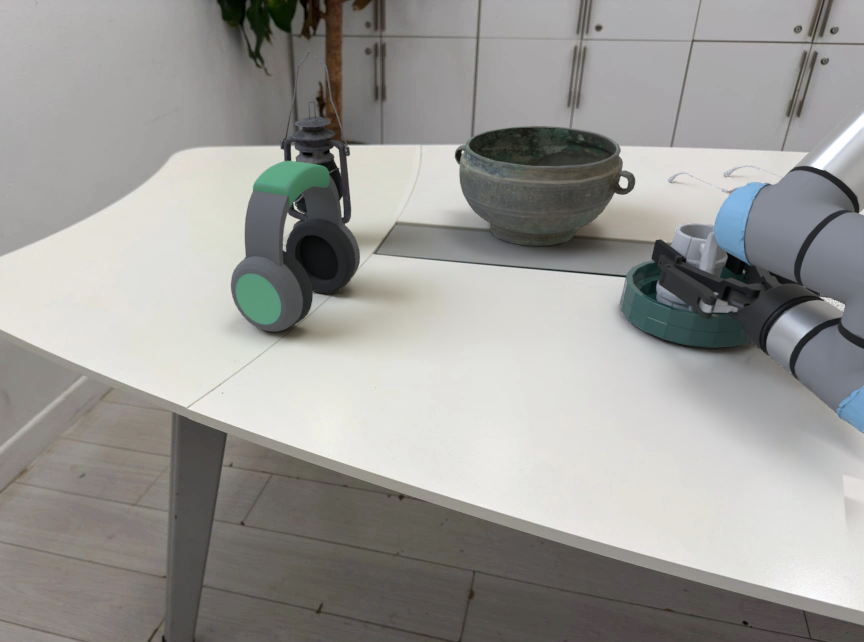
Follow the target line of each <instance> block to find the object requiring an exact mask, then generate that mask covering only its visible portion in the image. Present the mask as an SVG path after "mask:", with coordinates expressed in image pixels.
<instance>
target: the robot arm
mask: <svg viewBox="0 0 864 642" xmlns="http://www.w3.org/2000/svg"><path fill="white" fill-rule="evenodd" d="M782 177H783V178H781V179H780V180H779V181H777V182H776V183H777V184H776V185H772V184H773V183H768V182H758V181H753V182H748V183H746V184H745V185H743V187H742V186H738V187H739V188H737V189H736V190H735V191H734V192H733V193H731V194H730V195H729V194H728V196H727V198H725V200H724V201H723V202H722V205H721V206H720V207H719V210H718V212H717V214H716V217H715V221H714V224H713V225H714V236H715V239H716V242H717V244H718V245H719V246H720V248H721V249H723V250H724V251H726V252H727V253H726V254H727V256H728V258H727V261H726V264H725V266H724V267H726V268H727V269H729V270H730V271H731V272H733V273H734V274H736V275H742V273H743V270H744V271H745V274H744V277H743V280H744V279H745V281H748V283H749V285H748V284H745V283H743V282H741V281H738V280H736V279H733V278H728V279H723V278H720V277H718V276H715V275H713V274H711V273H708V272H706V271H703V270H701V269H699V268H696V267H694V266H691V265H689V264H687V263H686V260H687V259H686V258H685V257H684V256H683V255H681V254H680V253H679V252H677V251H676V250H675V249H673V248H672V247H671V245H669V244H668V243H666V241H664V240H663V239H655V241H654V245H653V250H652V254H651V259H650V260H653V261H654V262H656V263H657V264H658V267H659V268H660V269H661V274H660V278H659V282H658V284H659V285H660V286H662V287H663V288H665V289H666V290H668V291H669V292H671V293H672V294H673V295H675V296H676V297H678V298H679V299H681V300H682V301H684V302H685V303H687V304H688V305H690V306H691V307H693V308H694V309H695V310H696V311H697V312H698V314H699V315H700V317H702V318H705V319H710V318H711V317H712V314H713V312H718V313H726V314H727V315H728V316H729V317H731V318H734V319H736V320H738V321H740V323H741V325H742V328H743V331H744V333H745V335H746V337H747V338H748V340H750V341H751V343H752V344H753V345H754V346H755V347H757V349H759V350H760V351H762V352H763V353H764V354H765V355H766V356H768V357H770V359H772V360H773V361H774V362H775V363H777V365H779V366H780V367H782V368H783V369H784V370H786V372H788V373H789V374H791V375H792V376H793V377H794V379H796V380H797V381H798V382H800V383H801V385H802V386H804V387H805V388H807V389H808V390H809V391H810V392H811V393H812V394H813V395H814V396H816V398H817V399H819V400H820V401H821V402H822V403H823V404H824V405H826V406H827V407H828V408H829V409H831V411H833V412H834V413H835V414H836V415H837V416H838V418H840V420H842V421H845V422H847V423H848V424H849V425H850V426H852V427H853V428H854V429H856V430H857V431H859V432H860V433H862V434H864V214H861V212H862V211H864V98H863V99H861V101H860V102H859V103H857V105H856V106H855V107H853V109H852V110H850V111H849V112H848V114H846V115H845V116H844V117H843V118H842V119H841V120H840V121H839V122H838V123H837V124H836V125H835V126H834V127H833V128H832V129H831V130H830V131H829V132H828V133H827V134H826V135H825V136H824V137H823V138H822V139H821V140H820V141H819V142H818V143H816V145H815V146H814V147H813V148H812V149H811V150H810V151H808V153H807V154H806V155H805V156H804V157H803V158H802V159H801V160H800V161H799V162H798V163H796V165H795V166H794V167H793V168H792V169H790V170H789V171H788V172H787V173H786V174H785V175H784V176H782ZM731 288H732V289H731ZM822 295H823V296H824V297H827V298H829V299H832V300H834V301H836V302H839V303H840V304H842V305H844V309H843V310H841V309H840V308H838V306H835V305H833V304H832V303H830V302H829V301H826V300H825V299H824V298H822V297H821V296H822Z"/></svg>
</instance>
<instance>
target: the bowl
mask: <svg viewBox="0 0 864 642" xmlns="http://www.w3.org/2000/svg"><path fill="white" fill-rule="evenodd" d="M621 150H622V149H621V147H620V145H619V143H617V142H616V141H615V140H614V139H612V138H610V137H608V136H607V135H604V134H601V133H598V132H594V131H590V130H585V129H580V128H579V129H578V128H572V127H564V126H552V125H551V126H550V125H549V126H548V125H525V126H524V125H522V126H510V127H504V128H503V127H502V128H496V129H491V130H485V131H483V132H480V133H477V134H475V135H473V136H471V137H469V139H467V141H466V142H465V144H462V145H459V146H458V147H457V148H456V149H455V152H454V159H455V161H456V163H457V165H459V171H458V172H459V175H458V176H459V185H460V188H461V192H462V194H463V197H464V199H465V201H466V202H467V205H469V207H470V208H471V210H472V211H473V212H474V213H475V214H476V215H477V216H479V217H480V218H481V219H482V220H484V221H486V222H487V223H489V231H490V233H491V234H492V236H494V237H495V238H498V239H499V240H502V241H504V242H506V243H507V242H508V243H510V244H516V245H520V246H528V247H529V246H531V247H532V246H533V247H535V246H536V247H545V246H556V245H561V244H564V243H567V242H569V241H570V240H572V239H573V237H574V236H575V234H576V232H577V229H580V228H583V227H584V226H587V225H589V224H591V223H592V222H593V221H594V220H596V219H597V218H598V217H599V216H601V214H603V212H604V210H605V209H606V208H607V206H608V205H609V203H610V202H611V200H612V199H613V197H614V195H615V194H616V195H619V196H620V195H621V196H625V195H628V194H629V193H631V192H633V190H634V189H635V186H636V177H635V175H634V173H632V172H631V171H628V170H623V166H624V161H623V159H622V157H621V156H620V154H621V152H622V151H621ZM621 177H622V178H624V179H627V187H625V188H624V187H621V185H620V181H621Z"/></svg>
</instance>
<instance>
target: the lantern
mask: <svg viewBox="0 0 864 642" xmlns="http://www.w3.org/2000/svg"><path fill="white" fill-rule="evenodd" d="M309 54H311V56H312V57H313V58H314V59H315V60H316V61H317V62H318V63H319V64H321V65H322V66H323V67H324V68H325V73H326V80H327V86H328V93H329V99H330V102H331V106H332V108H333V111H334V112H335V115H336V118H337V122H338V125H339V127H340V132H341V135H342V139H343V142H344V143H343V142H342V141H341V140H338V139H334V137H335V136H336V133H335V131H334V130H331V129H329V128H325V127H326V126H329V125H331V122H332V121H331V120H330V119H328V118H327V117H322V116H317V111H316V101H314V100H311V101H308V102H307V108H308V116H306V117H303V118H300V119H298V120H297V121H295V122H294V125H295V126H296V127H300V128H301V129H299V130H297V131H295V132H293V133H292V134H291V136H288V134H289V133H288V132H289V128H290V127H289V125H290V122H291V121H290V120H291V114H292V111H293V108H294V105H295V99H296V92H297V84H298V77H299V69H300V66H301V65H302V64H303V62H305V60H306V59H307V58H308V57H309ZM294 82H295V83H294V87H293V88H294V89H293V95H292V103H291V106H290V109H289V113H288V118H287V124H286V130H285V135H284V137H283V138H282V139H281V140H280V143H279V145H280V150H283V161H292V143H294V149H295V150H296V151H298V152H299V154H297V155H296V156H295V161H296V162H303V163H310V164H317V165H321V166H324V167H326V168H327V169H328V171H329V175H330V176H331V178H332V179H333V181H334V183H335V185H336V187H337V190H338V194H339V199H340V201H341V200H342V207H343V217H342V223H343V224H344V225H345V226H346V224H348V223H349V222H350V220H351V218H352V202H351V201H352V200H351V191H350V180H349V170H348V168H349V167H348V159H347V158H348V157H350V156H351V151H350V150H351V149H350V146H348V143H347V139H346V136H345V133H344V130H343V126H342V124H341V123H342V122H341V119H340V117H339V114H338V111H337V109H336V106H335V103H334V101H333V96H332V90H331V84H330V75H329V69H328V65H326V64H325V63H324V62H323V61H322V60H320V59H319V58H318V57H317V56H316V55H315V53H314V52H313V50H310V49H309V50H307V52H306V54H305V56H304V57H303V58H302V59H301V60H300V62H299V63H298V64H297V66H296V74H295V81H294ZM310 104H313V111H314V116H311V108H310V106H311V105H310ZM333 148H336V149H337V150H338V156H339V167H338V166H337V163H336V160H335V154H333V153H332V152H331V150H332V149H333ZM295 207H296V209H295ZM287 215H288V216H290V217H292V218H294V219H297V220H298V221H296V222H295V223H294V224H293V226H292V229H293V228H294V227H296V226H297V225H298V224H300V223H302V222H304V221H306V220H308V216H307V208H306V203H305V198H304V195H303V192H302V193H301V194H300V195H299V196H298V197H297V199H296V200H295V201H294V202H293V204H292V206H291V207H290V208H289V210H288V213H287Z"/></svg>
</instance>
